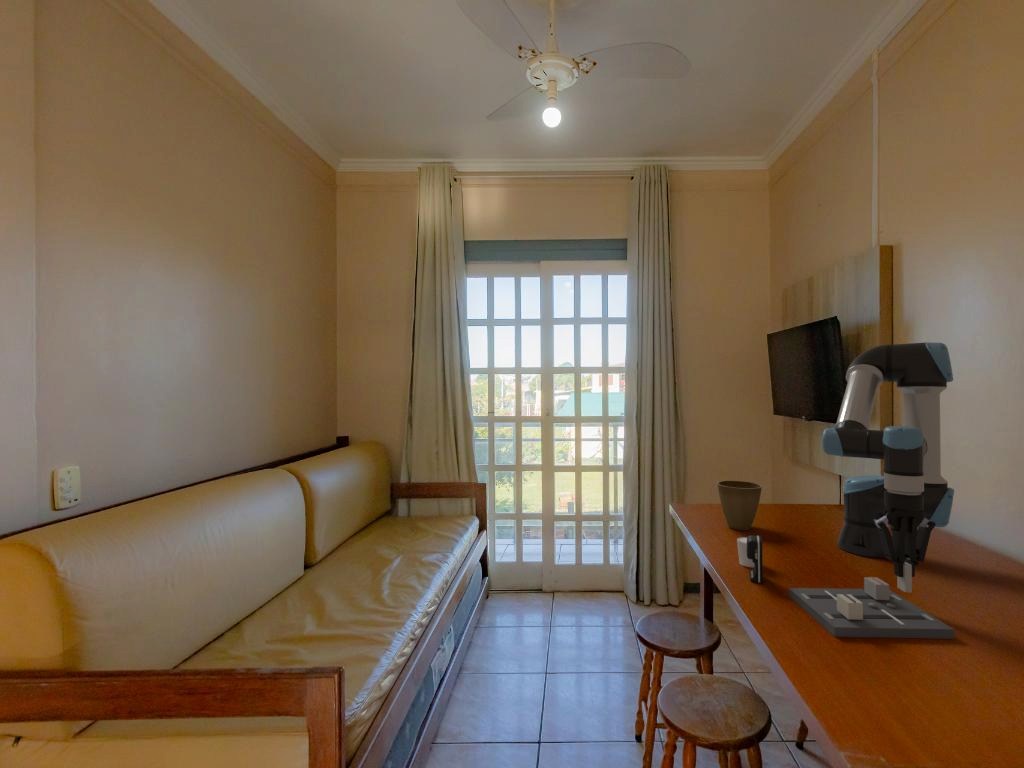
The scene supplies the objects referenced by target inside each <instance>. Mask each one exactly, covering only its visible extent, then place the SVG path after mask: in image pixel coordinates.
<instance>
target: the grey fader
mask: <svg viewBox="0 0 1024 768" xmlns="http://www.w3.org/2000/svg"><path fill="white" fill-rule="evenodd" d="M863 587H864V588H863V589H864V592H865V593H867V594H868V595H870V596H871V597H873V598H874V599H876V600H890V599H889V590H890V584H889V583H887V582H885V581H884V580H882V579H881V578H879V577H876V576H875V577H873V576H870V577H869V576H867V577H864V578H863Z"/></svg>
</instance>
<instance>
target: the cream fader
mask: <svg viewBox="0 0 1024 768" xmlns="http://www.w3.org/2000/svg"><path fill="white" fill-rule="evenodd" d="M837 611H839V612H840V613H841V614H842V615H844V616H845V617H846V618H847V619H853V620H863V603H862V602H860V601H859V600H858V599H856V598H855V597H853V596H852V595H851V594H845V593H843V594H837Z"/></svg>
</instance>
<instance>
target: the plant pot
mask: <svg viewBox="0 0 1024 768" xmlns="http://www.w3.org/2000/svg"><path fill="white" fill-rule="evenodd" d="M762 488H763V486H762V485H761V484H760V483H756V482H752V481H751V482H750V481H745V480H721V481H718V482H717V490H718V495H719V502H720V505H721V509H722V511H723V516H724V519H725V520H726V524H727V526H728V527H729V528H730V529H734V530H739V531H748V530H750V529H751V528H752V526H753V523H754V520H755V518H756V516H757V515H756V514H757V512H758V509H759V508H758V507H759V503H760V501H761V500H760V499H761V494H762Z"/></svg>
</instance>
